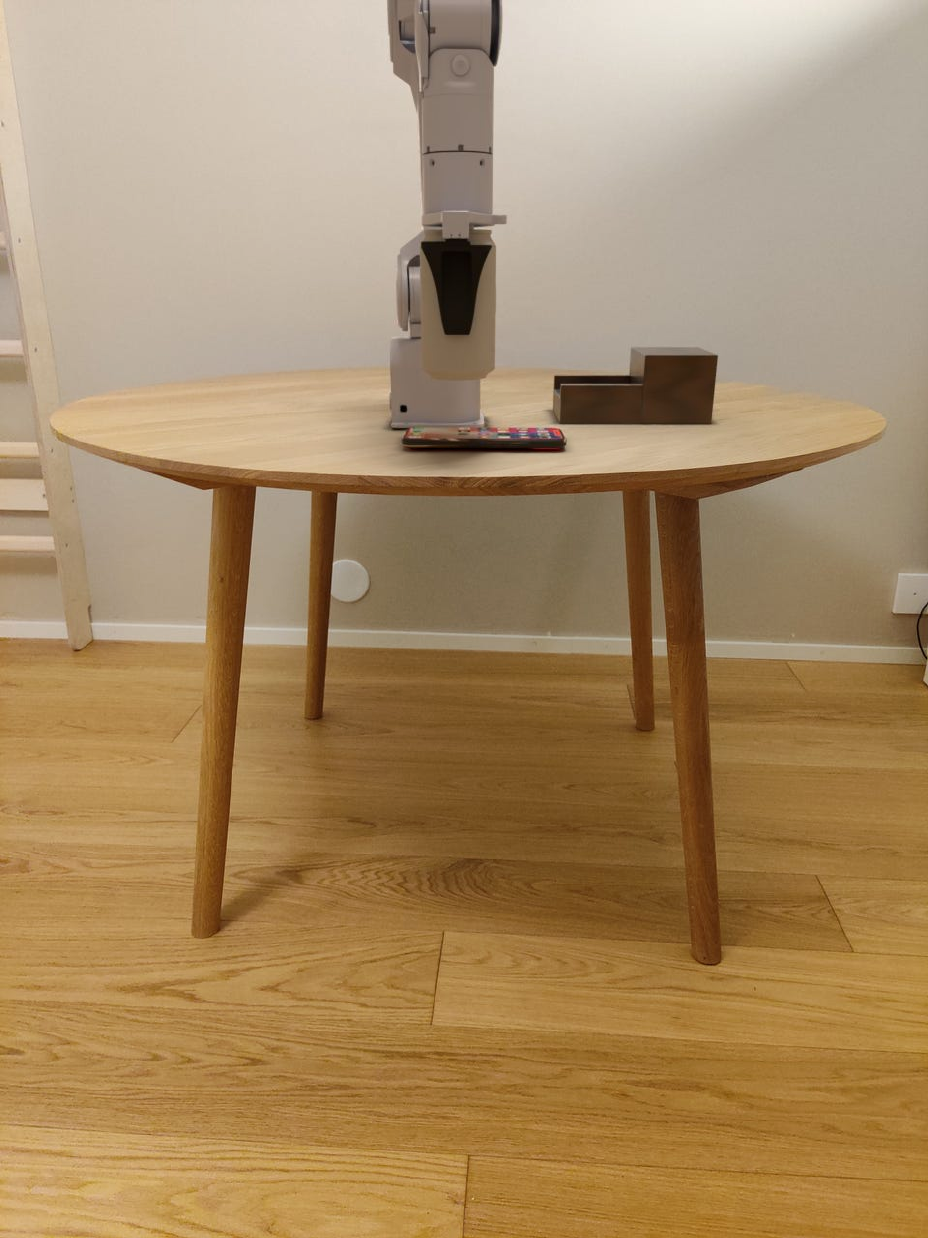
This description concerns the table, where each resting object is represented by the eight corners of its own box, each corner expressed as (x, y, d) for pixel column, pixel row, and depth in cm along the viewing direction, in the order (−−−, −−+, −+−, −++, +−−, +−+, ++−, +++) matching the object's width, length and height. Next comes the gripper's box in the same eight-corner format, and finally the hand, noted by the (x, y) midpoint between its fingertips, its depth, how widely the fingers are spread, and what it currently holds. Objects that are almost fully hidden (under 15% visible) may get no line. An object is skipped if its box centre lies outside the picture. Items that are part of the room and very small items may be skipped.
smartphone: (406, 426, 90) (561, 426, 89) (406, 436, 90) (560, 436, 90) (400, 439, 83) (567, 439, 82) (400, 449, 83) (567, 450, 83)
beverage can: (504, 374, 82) (506, 229, 78) (480, 382, 77) (481, 226, 72) (437, 371, 84) (436, 229, 80) (410, 379, 79) (407, 227, 74)
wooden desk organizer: (559, 423, 97) (562, 354, 95) (552, 410, 105) (554, 346, 103) (711, 423, 97) (718, 355, 94) (692, 410, 105) (698, 347, 103)
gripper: (509, 144, 67) (506, 338, 72) (505, 164, 81) (503, 326, 86) (413, 145, 68) (417, 338, 72) (425, 164, 81) (427, 325, 86)
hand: (458, 331), depth 79 cm, fingers closed on beverage can, 6 cm apart
